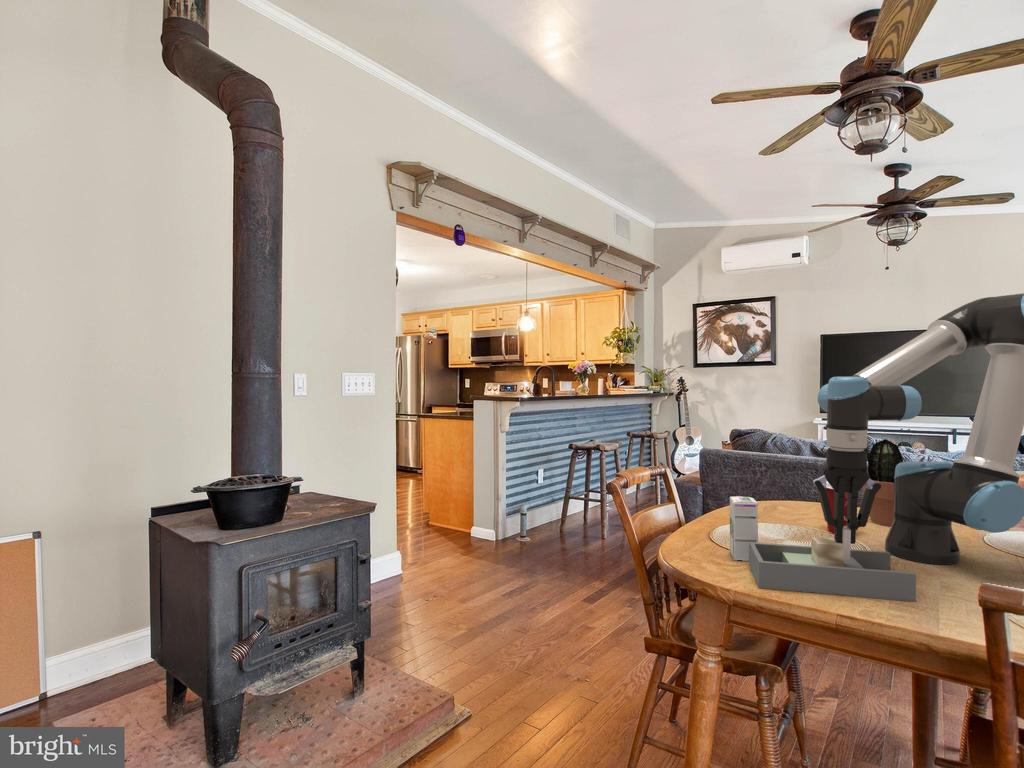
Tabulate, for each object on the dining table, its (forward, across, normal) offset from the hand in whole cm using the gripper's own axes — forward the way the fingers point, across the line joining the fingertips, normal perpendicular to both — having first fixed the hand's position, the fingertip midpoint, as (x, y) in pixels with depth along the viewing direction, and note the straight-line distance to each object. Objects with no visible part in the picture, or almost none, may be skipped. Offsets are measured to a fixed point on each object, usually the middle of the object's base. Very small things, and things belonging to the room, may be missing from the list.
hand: (844, 557), depth 123 cm
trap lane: (+6, -4, 0) cm, 7 cm away
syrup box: (+6, -18, +13) cm, 23 cm away
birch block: (+2, -3, 0) cm, 4 cm away
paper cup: (+6, +11, +42) cm, 43 cm away
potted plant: (+6, +28, +56) cm, 62 cm away
